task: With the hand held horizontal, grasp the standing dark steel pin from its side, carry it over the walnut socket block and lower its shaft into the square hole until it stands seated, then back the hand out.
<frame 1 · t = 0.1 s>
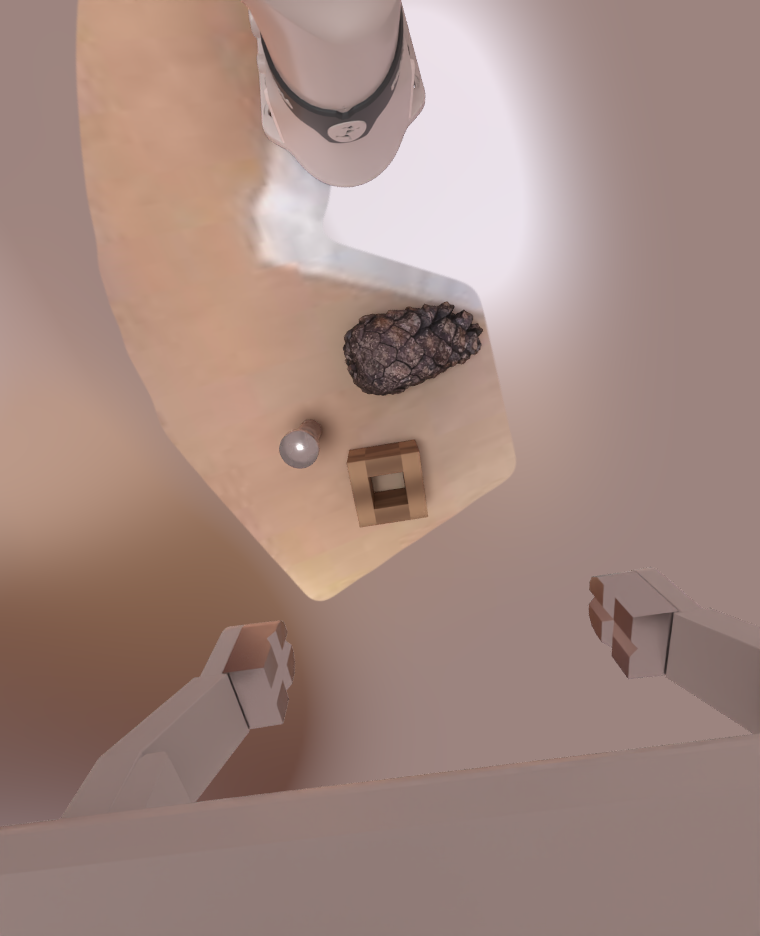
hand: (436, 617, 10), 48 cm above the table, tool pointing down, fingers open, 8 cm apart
pin: (311, 430, 58), on the table
socket block: (387, 475, 60), on the table
pine cone: (408, 342, 54), on the table
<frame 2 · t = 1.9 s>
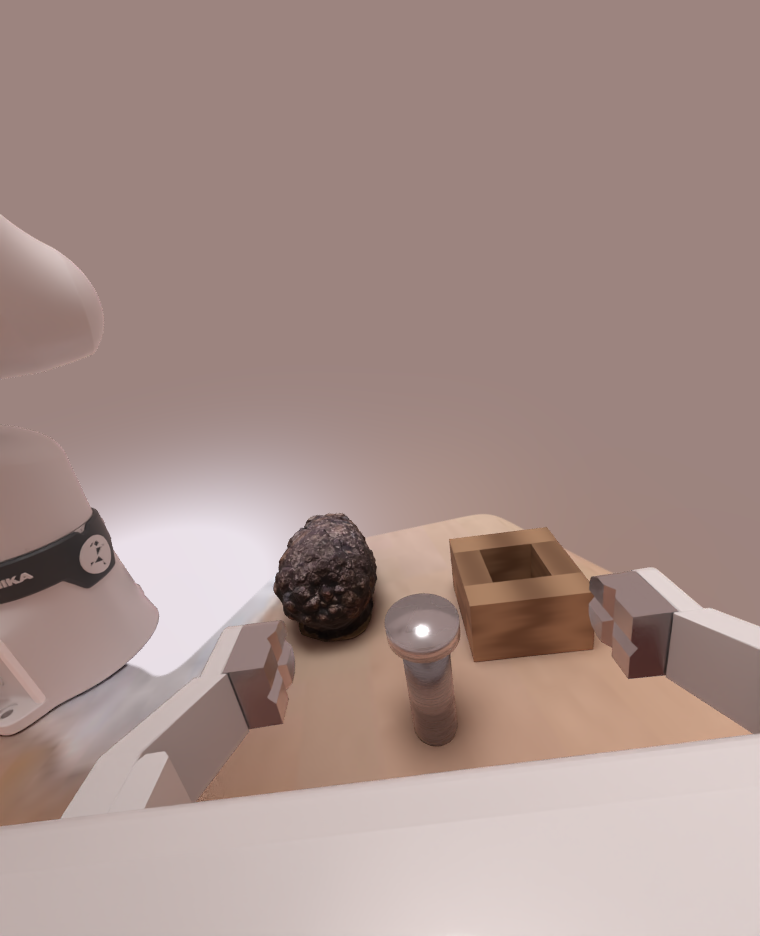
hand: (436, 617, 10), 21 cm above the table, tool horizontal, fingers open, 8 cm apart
pin: (435, 723, 29), on the table
socket block: (514, 613, 38), on the table
pine cone: (332, 594, 45), on the table
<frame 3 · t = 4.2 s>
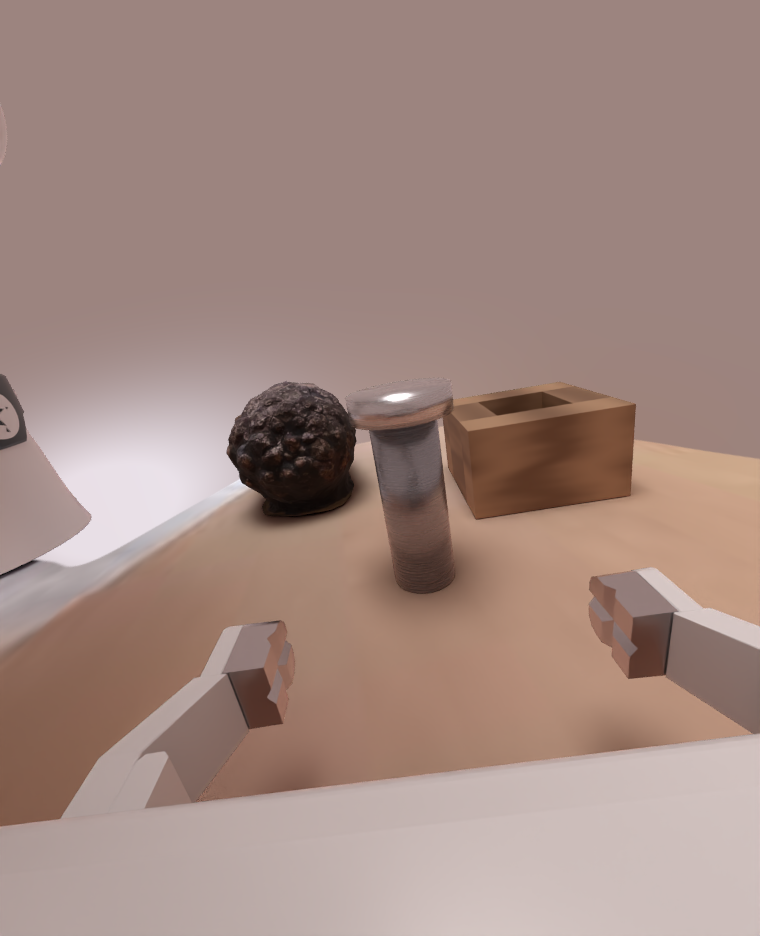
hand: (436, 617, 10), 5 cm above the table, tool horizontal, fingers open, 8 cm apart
pin: (424, 573, 21), on the table
socket block: (524, 479, 30), on the table
pine cone: (305, 486, 37), on the table
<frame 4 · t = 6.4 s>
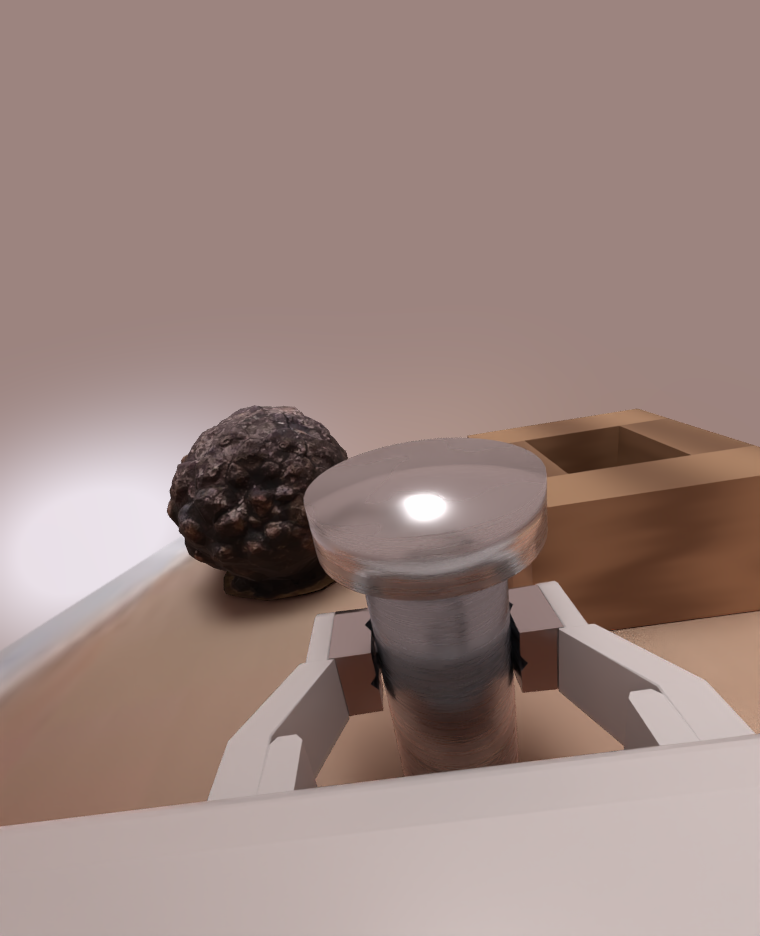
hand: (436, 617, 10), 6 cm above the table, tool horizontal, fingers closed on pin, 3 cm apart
pin: (463, 789, 11), on the table, touching gripper
socket block: (593, 555, 20), on the table
pine cone: (285, 540, 28), on the table
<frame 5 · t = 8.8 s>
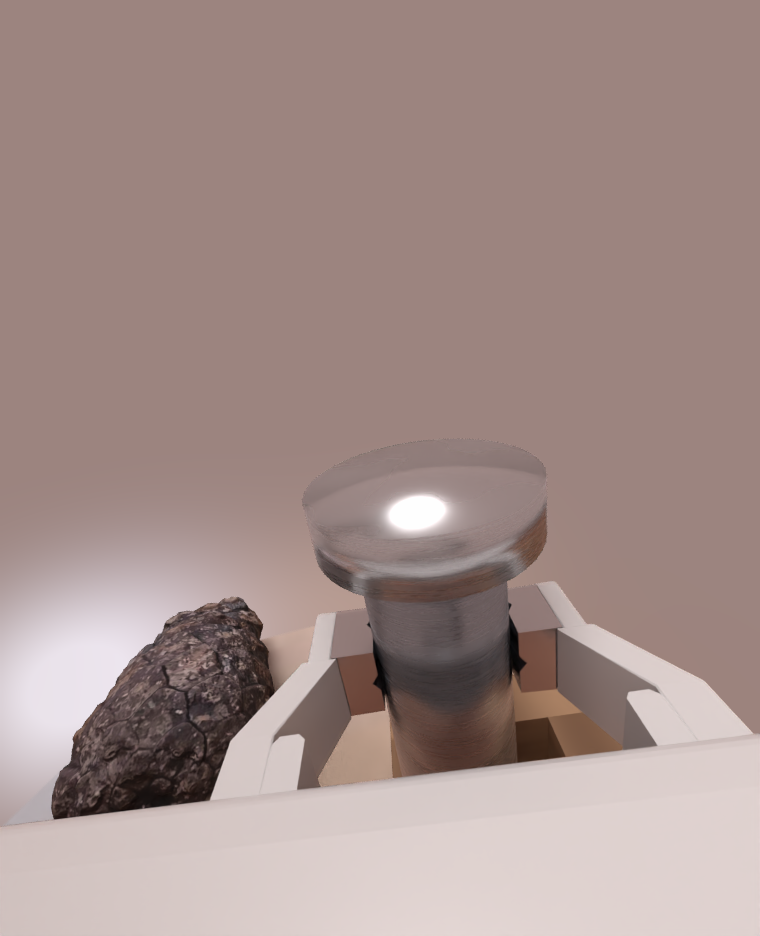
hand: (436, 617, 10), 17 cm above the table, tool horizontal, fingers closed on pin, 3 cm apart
pin: (461, 791, 11), point 11 cm above the table, touching gripper
socket block: (518, 865, 18), on the table
pine cone: (211, 751, 26), on the table
when the fingers open (10 cm above the table, at t = 11.0 s): pin stays where it is, resting on socket block.
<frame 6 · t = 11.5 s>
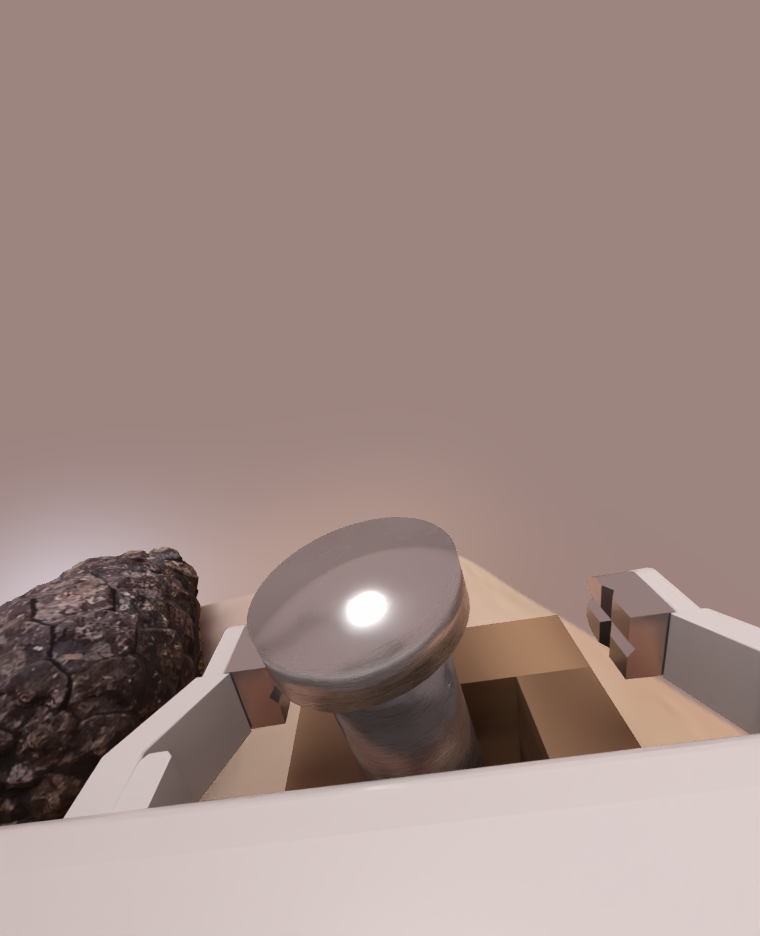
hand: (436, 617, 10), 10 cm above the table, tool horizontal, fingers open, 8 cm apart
pin: (453, 836, 12), point 3 cm above the table, tilted 8°, touching gripper, socket block
socket block: (474, 881, 13), on the table
pine cone: (124, 719, 22), on the table
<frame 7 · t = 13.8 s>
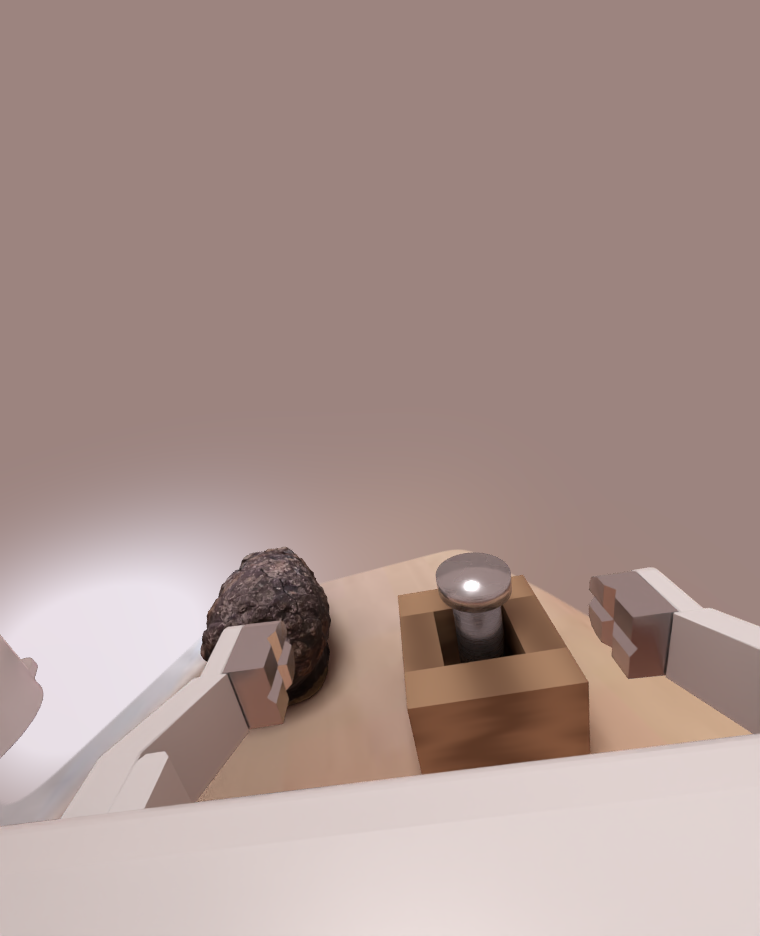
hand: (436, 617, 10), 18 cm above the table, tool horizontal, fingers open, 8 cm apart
pin: (486, 686, 29), resting in socket block
socket block: (484, 696, 28), on the table
pine cone: (280, 646, 37), on the table
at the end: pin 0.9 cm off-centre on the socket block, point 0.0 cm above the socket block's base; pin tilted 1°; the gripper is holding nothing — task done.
